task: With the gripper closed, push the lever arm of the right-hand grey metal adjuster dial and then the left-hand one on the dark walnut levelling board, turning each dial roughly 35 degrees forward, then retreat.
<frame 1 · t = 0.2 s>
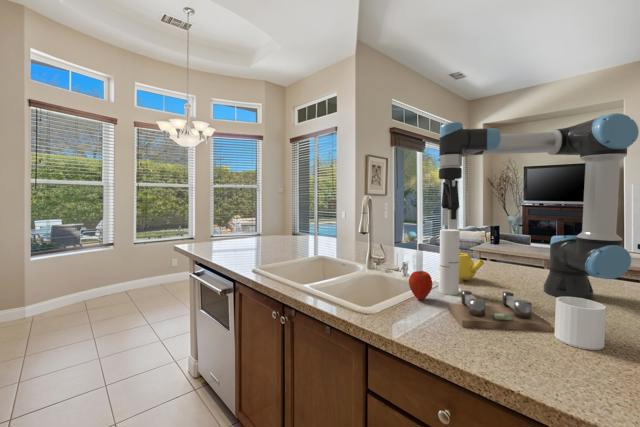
hand: (449, 227, 109), 27 cm above the worktop, fingers open, 13 cm apart
apple: (420, 299, 114), on the worktop
knob A: (515, 304, 96), point 4 cm above the worktop, hinge at 0.0°
mug: (578, 340, 81), on the worktop
levelling board: (494, 319, 95), on the worktop
knob B: (472, 302, 97), point 4 cm above the worktop, hinge at 0.0°
teapot: (461, 280, 140), on the worktop
cylindrical container: (448, 292, 122), on the worktop
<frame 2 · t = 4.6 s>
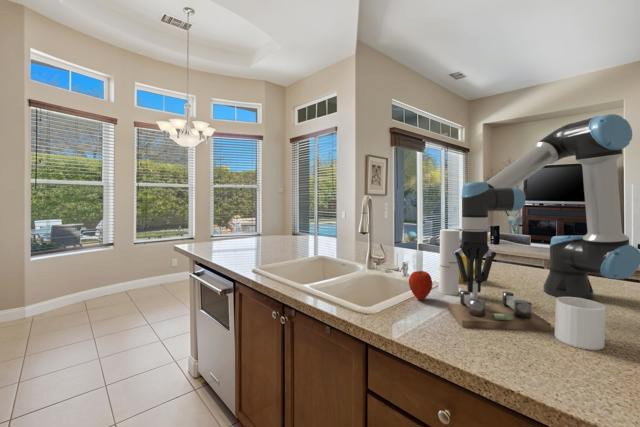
hand: (473, 301, 100), 4 cm above the worktop, fingers closed
knob B: (471, 302, 97), point 4 cm above the worktop, hinge at 2.7°, touching gripper
everything else where it was.
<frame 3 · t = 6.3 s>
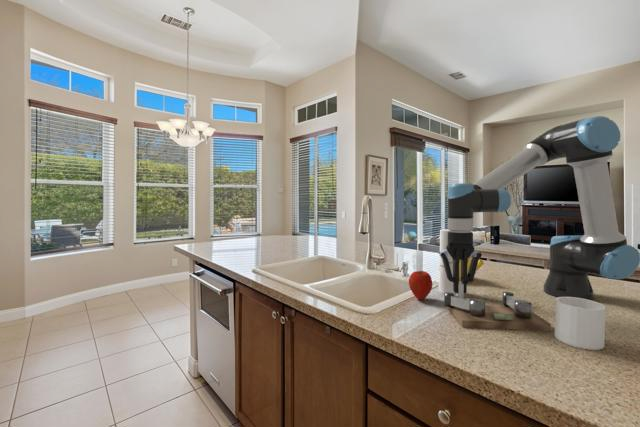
hand: (459, 302, 100), 3 cm above the worktop, fingers closed
knob B: (463, 303, 97), point 4 cm above the worktop, hinge at 45.4°, touching gripper
everything else where it was.
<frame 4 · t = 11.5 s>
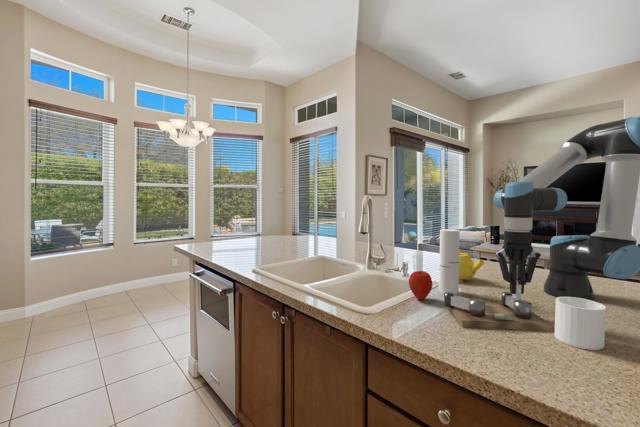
hand: (516, 303, 98), 4 cm above the worktop, fingers closed
knob A: (515, 304, 96), point 4 cm above the worktop, hinge at 2.4°, touching gripper
knob B: (463, 303, 97), point 4 cm above the worktop, hinge at 45.6°
everything else where it was.
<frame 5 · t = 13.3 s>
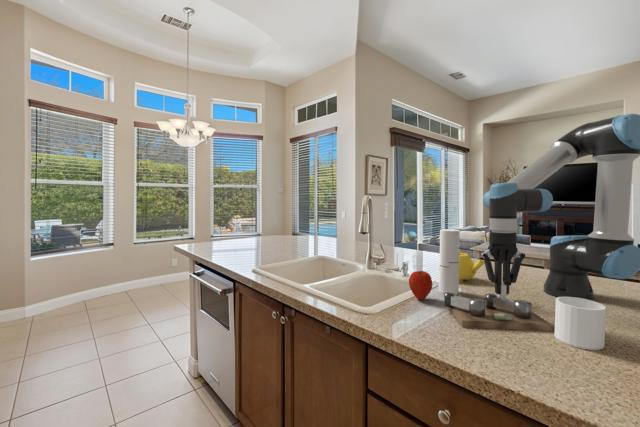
hand: (501, 303, 99), 3 cm above the worktop, fingers closed
knob A: (507, 305, 95), point 4 cm above the worktop, hinge at 45.1°, touching gripper
everything else where it was.
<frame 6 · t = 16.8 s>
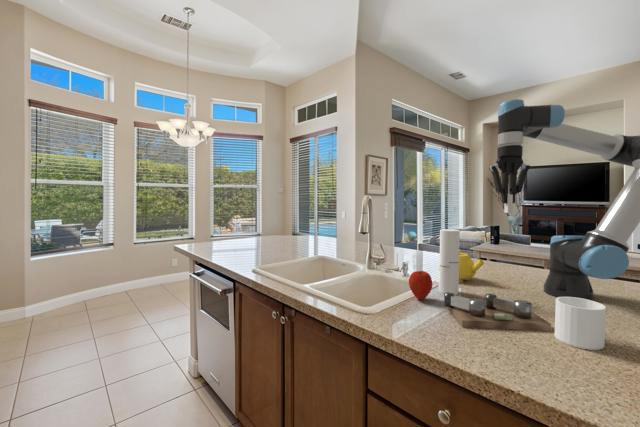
hand: (508, 212, 109), 32 cm above the worktop, fingers closed
knob A: (507, 305, 95), point 4 cm above the worktop, hinge at 45.3°
everything else where it was.
at the end: knob B at +46° (first picture: +0°); knob A at +45° (first picture: +0°) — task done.
